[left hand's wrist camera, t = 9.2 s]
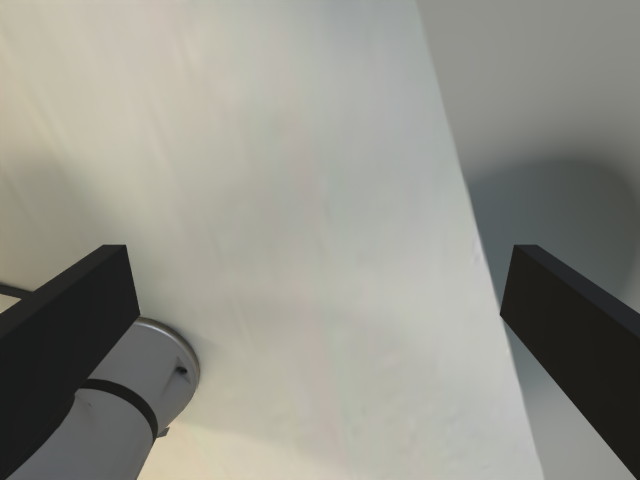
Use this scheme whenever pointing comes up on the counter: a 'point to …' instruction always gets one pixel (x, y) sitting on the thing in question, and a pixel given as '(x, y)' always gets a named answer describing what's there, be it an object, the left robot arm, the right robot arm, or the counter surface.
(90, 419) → the left robot arm
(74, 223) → the counter surface
